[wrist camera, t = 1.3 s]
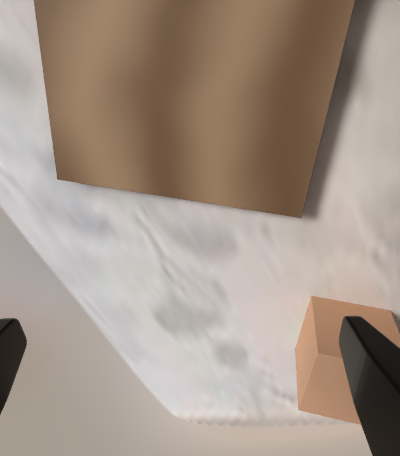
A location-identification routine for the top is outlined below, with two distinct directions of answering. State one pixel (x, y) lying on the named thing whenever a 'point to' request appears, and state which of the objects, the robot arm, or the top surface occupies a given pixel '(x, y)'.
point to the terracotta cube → (331, 356)
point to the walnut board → (192, 95)
